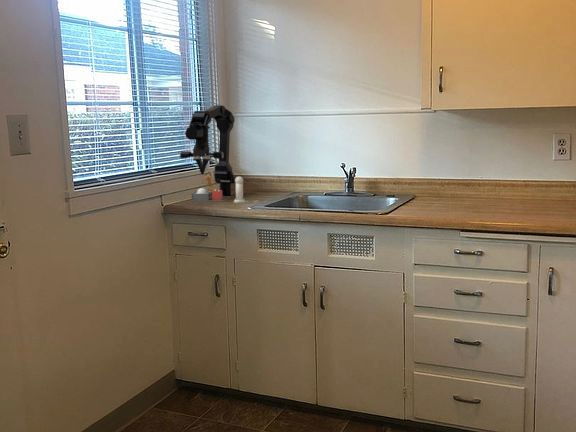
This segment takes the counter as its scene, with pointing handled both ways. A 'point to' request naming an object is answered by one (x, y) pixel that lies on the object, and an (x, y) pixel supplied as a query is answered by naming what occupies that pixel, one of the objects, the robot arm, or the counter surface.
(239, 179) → the pawn
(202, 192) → the dome
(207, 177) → the figurine
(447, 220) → the counter surface
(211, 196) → the popper base
